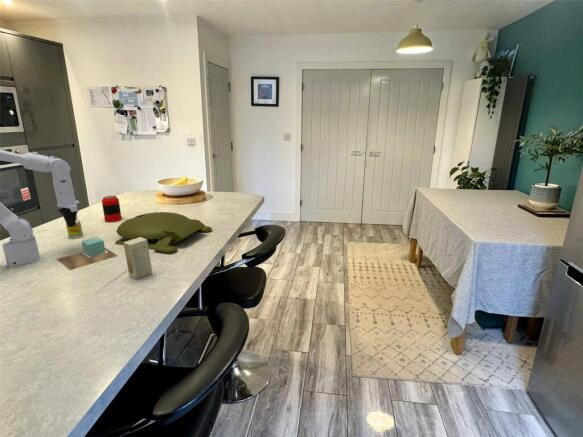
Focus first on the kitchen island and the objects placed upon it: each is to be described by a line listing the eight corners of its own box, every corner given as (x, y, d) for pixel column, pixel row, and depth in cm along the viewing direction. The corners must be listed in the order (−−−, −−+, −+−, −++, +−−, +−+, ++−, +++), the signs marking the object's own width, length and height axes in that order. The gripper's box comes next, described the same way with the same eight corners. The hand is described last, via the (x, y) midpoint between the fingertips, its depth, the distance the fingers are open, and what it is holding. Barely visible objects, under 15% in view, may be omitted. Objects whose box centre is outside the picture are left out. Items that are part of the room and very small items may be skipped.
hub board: (70, 272, 114) (68, 261, 113) (57, 261, 123) (54, 250, 122) (118, 258, 126) (116, 247, 125) (103, 248, 135) (101, 238, 133)
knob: (89, 256, 124) (87, 244, 123) (83, 252, 128) (81, 240, 126) (105, 252, 128) (103, 240, 127) (99, 248, 132) (97, 236, 130)
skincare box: (146, 269, 117) (141, 236, 114) (152, 272, 115) (148, 239, 111) (127, 275, 112) (122, 241, 109) (134, 279, 110) (129, 244, 106)
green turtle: (214, 230, 157) (212, 210, 154) (172, 256, 129) (169, 232, 126) (152, 223, 168) (150, 204, 165) (101, 245, 140) (97, 222, 137)
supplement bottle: (82, 233, 152) (78, 213, 149) (83, 237, 147) (79, 216, 145) (68, 235, 149) (64, 215, 146) (68, 239, 145) (64, 218, 142)
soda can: (121, 221, 169) (117, 198, 165) (104, 223, 166) (100, 199, 163) (122, 217, 176) (118, 194, 172) (106, 218, 173) (102, 196, 169)
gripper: (83, 192, 123) (90, 227, 127) (69, 187, 132) (76, 220, 136) (61, 196, 118) (69, 232, 122) (48, 190, 127) (56, 224, 131)
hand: (71, 226), depth 129 cm, fingers closed
